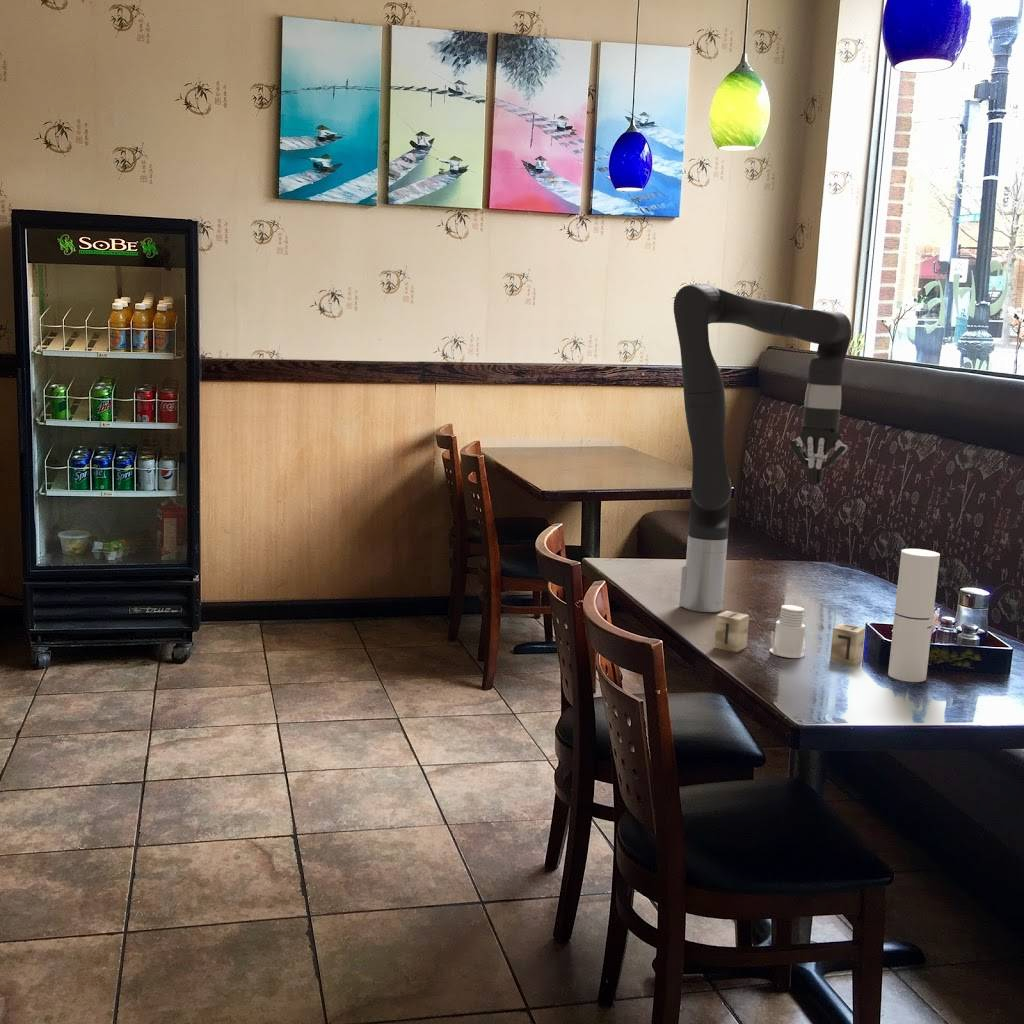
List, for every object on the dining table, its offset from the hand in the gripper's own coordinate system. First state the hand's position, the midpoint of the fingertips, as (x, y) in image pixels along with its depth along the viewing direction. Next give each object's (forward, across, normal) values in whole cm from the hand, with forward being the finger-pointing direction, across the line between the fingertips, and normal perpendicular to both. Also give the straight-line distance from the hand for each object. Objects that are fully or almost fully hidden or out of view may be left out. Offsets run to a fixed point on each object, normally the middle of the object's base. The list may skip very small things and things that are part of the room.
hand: (814, 485), depth 257 cm
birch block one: (+33, -7, -22) cm, 40 cm away
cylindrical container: (+33, +28, -16) cm, 46 cm away
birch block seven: (+33, +15, -14) cm, 39 cm away
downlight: (+33, +4, -18) cm, 38 cm away
